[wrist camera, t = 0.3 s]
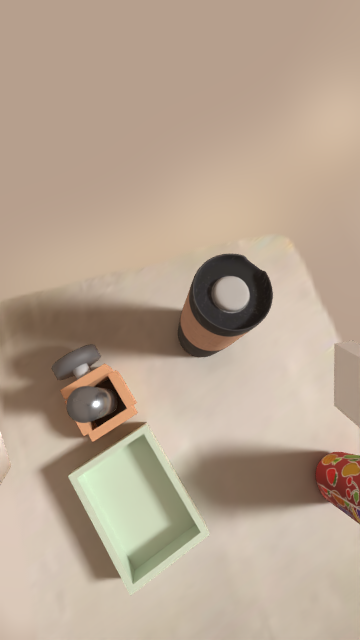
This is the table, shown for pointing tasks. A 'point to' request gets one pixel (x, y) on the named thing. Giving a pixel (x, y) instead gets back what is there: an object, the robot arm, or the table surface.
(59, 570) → the table surface
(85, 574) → the table surface
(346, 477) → the smoothie
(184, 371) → the table surface
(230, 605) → the table surface
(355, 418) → the robot arm
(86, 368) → the block
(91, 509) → the tray
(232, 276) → the travel mug
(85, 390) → the pin
